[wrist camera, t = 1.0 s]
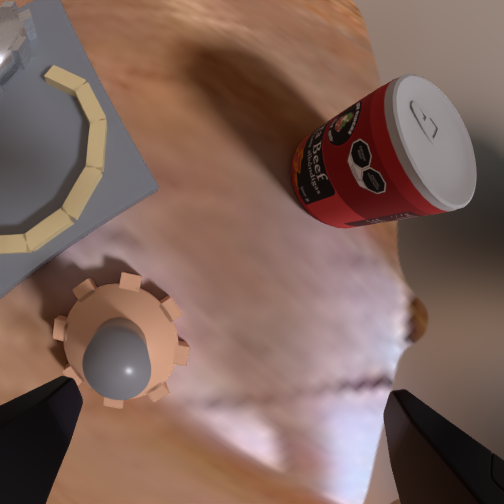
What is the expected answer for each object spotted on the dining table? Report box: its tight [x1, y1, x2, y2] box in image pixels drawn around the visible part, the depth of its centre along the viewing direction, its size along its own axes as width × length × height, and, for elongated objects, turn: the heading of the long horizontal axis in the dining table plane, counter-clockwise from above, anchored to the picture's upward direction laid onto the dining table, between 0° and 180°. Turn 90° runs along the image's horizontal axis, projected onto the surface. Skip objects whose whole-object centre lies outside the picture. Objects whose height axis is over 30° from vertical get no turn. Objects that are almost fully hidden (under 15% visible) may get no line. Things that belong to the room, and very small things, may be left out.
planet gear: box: [53, 272, 190, 409], centre depth 15 cm, size 8×8×6 cm
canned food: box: [291, 74, 476, 228], centre depth 19 cm, size 8×8×11 cm
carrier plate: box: [0, 0, 159, 299], centre depth 14 cm, size 14×21×2 cm, turn 32°
